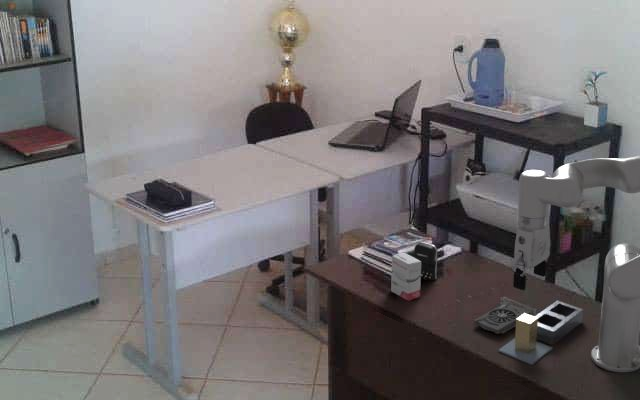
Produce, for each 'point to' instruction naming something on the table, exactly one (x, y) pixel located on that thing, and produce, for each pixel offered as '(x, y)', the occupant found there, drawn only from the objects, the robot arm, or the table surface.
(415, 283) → the ink box
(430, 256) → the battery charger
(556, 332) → the cinder block
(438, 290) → the table surface
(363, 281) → the table surface
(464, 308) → the table surface
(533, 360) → the mat
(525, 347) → the brass peg
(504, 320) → the graphics card
